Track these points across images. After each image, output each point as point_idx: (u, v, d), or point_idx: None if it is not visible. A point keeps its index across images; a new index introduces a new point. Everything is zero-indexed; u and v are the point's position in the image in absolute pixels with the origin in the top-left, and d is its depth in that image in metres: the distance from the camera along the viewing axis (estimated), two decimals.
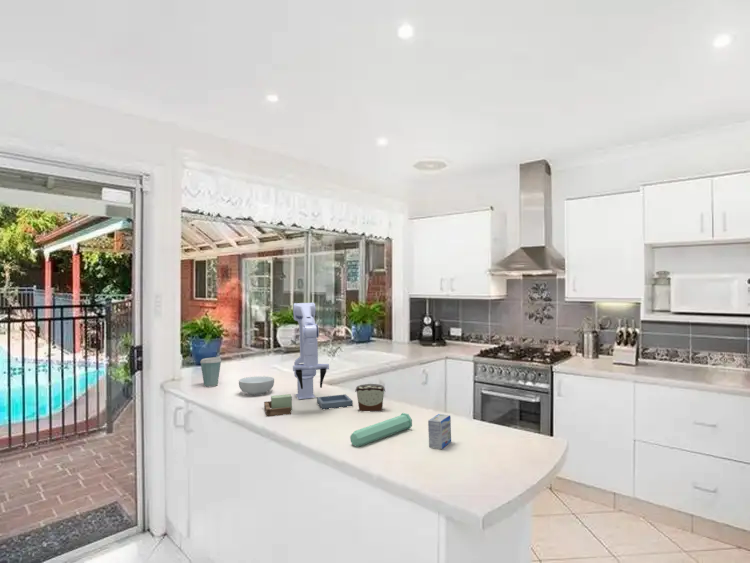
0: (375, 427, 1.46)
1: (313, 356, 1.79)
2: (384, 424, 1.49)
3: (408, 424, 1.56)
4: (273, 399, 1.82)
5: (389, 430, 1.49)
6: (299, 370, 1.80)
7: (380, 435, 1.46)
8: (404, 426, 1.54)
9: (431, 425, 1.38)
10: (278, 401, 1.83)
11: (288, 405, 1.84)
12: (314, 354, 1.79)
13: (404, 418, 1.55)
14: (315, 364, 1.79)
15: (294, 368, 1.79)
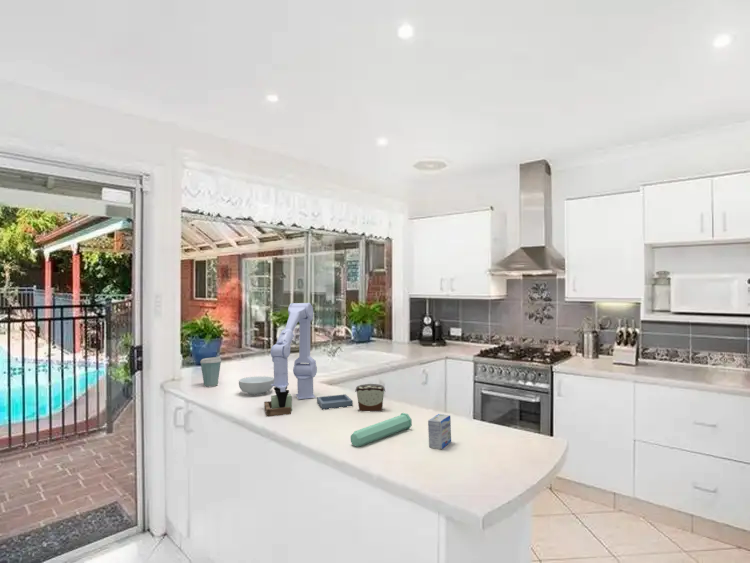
0: (375, 427, 1.46)
1: (274, 375, 1.84)
2: (384, 424, 1.49)
3: (408, 424, 1.56)
4: (273, 399, 1.82)
5: (389, 430, 1.49)
6: None
7: (380, 435, 1.46)
8: (404, 426, 1.54)
9: (431, 425, 1.38)
10: None
11: (288, 405, 1.84)
12: (280, 373, 1.83)
13: (404, 418, 1.56)
14: (276, 383, 1.83)
15: None
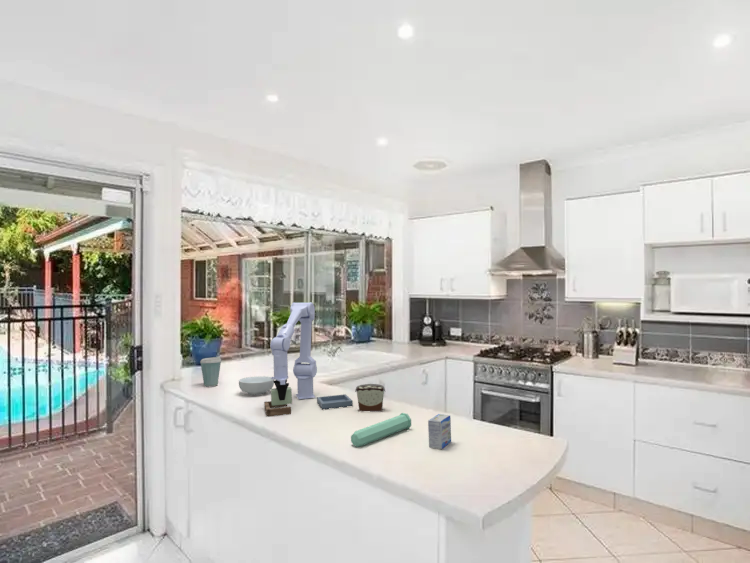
0: (375, 427, 1.46)
1: (274, 368, 1.84)
2: (384, 424, 1.49)
3: (407, 424, 1.56)
4: (273, 392, 1.82)
5: (389, 430, 1.49)
6: None
7: (380, 435, 1.46)
8: (403, 426, 1.54)
9: (431, 425, 1.38)
10: None
11: (288, 398, 1.84)
12: (280, 366, 1.83)
13: (403, 418, 1.56)
14: (276, 376, 1.83)
15: None
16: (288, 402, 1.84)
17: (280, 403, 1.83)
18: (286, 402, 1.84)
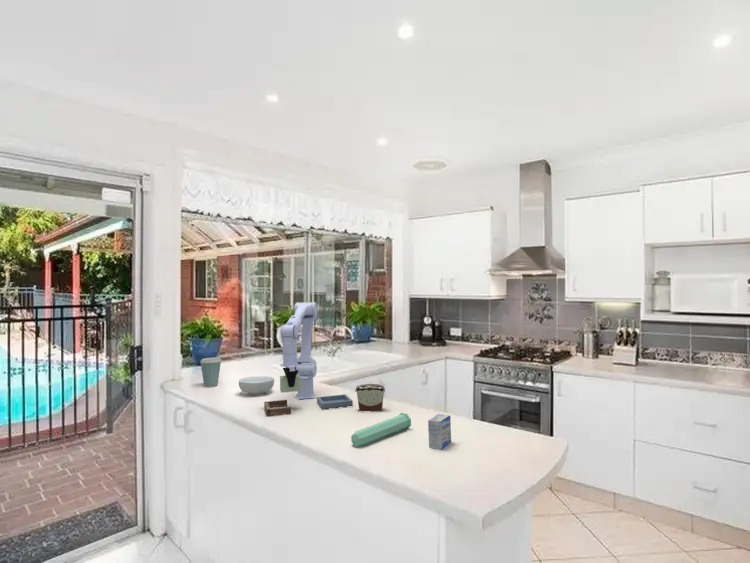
0: (375, 427, 1.46)
1: (283, 355, 1.85)
2: (384, 424, 1.49)
3: (407, 424, 1.56)
4: (282, 379, 1.83)
5: (389, 430, 1.49)
6: None
7: (380, 435, 1.46)
8: (403, 426, 1.55)
9: (431, 425, 1.38)
10: (287, 381, 1.84)
11: (297, 385, 1.85)
12: (290, 353, 1.84)
13: (403, 418, 1.56)
14: (285, 363, 1.84)
15: None
16: (297, 389, 1.85)
17: (289, 390, 1.84)
18: (295, 389, 1.85)
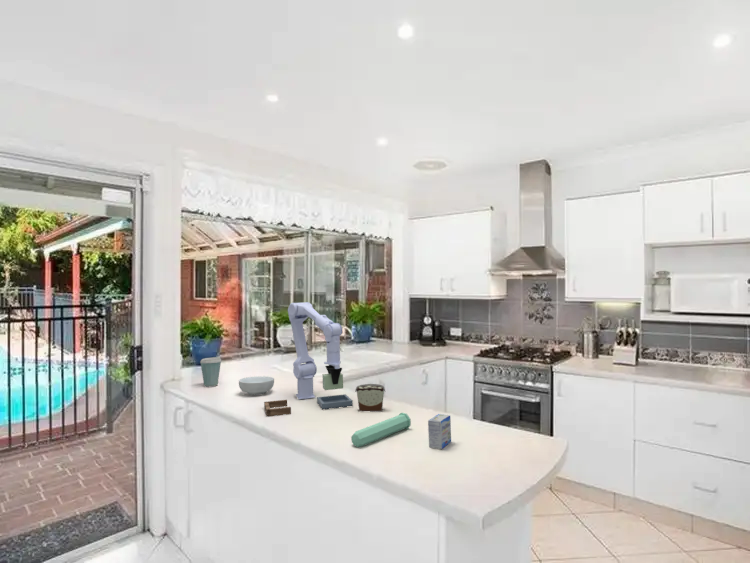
0: (375, 427, 1.46)
1: (327, 353, 1.91)
2: (384, 424, 1.49)
3: (407, 424, 1.56)
4: (325, 377, 1.89)
5: (389, 430, 1.49)
6: None
7: (380, 435, 1.46)
8: (403, 426, 1.55)
9: (431, 425, 1.38)
10: (330, 379, 1.89)
11: (339, 383, 1.91)
12: (339, 351, 1.92)
13: (403, 418, 1.56)
14: (329, 361, 1.90)
15: None
16: (340, 387, 1.91)
17: (332, 388, 1.90)
18: (338, 387, 1.90)
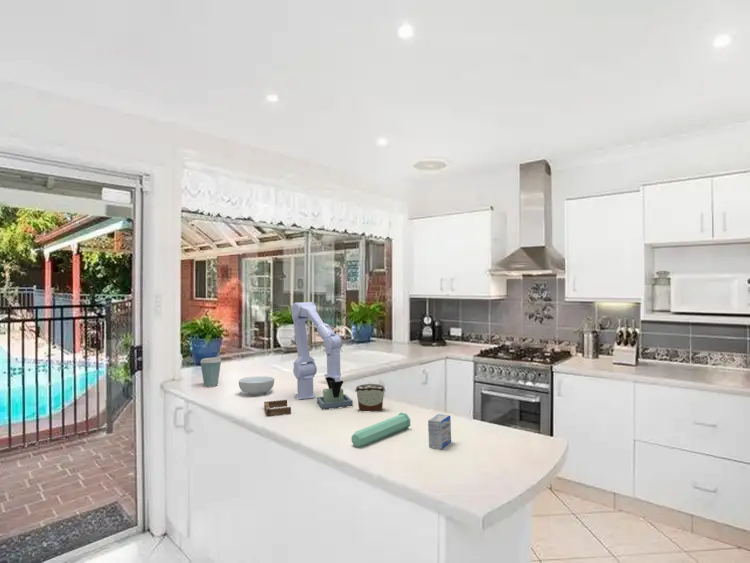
0: (375, 427, 1.46)
1: (328, 365, 1.91)
2: (384, 424, 1.49)
3: (406, 424, 1.56)
4: (326, 392, 1.89)
5: (389, 430, 1.49)
6: None
7: (380, 435, 1.46)
8: (403, 426, 1.55)
9: (431, 425, 1.38)
10: (330, 394, 1.89)
11: (340, 398, 1.91)
12: (339, 363, 1.91)
13: (403, 418, 1.56)
14: (329, 373, 1.90)
15: None
16: None
17: None
18: None
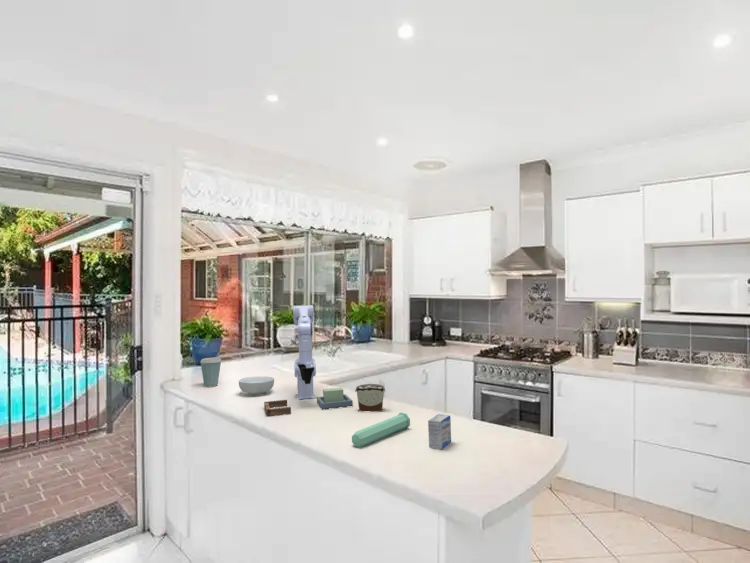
0: (376, 427, 1.46)
1: (299, 352, 1.91)
2: (384, 424, 1.49)
3: (406, 423, 1.56)
4: (326, 392, 1.89)
5: (389, 430, 1.49)
6: None
7: (381, 435, 1.46)
8: (403, 425, 1.55)
9: (431, 425, 1.38)
10: (330, 394, 1.89)
11: (340, 398, 1.91)
12: (308, 350, 1.91)
13: (402, 418, 1.56)
14: (301, 360, 1.91)
15: None
16: None
17: None
18: None
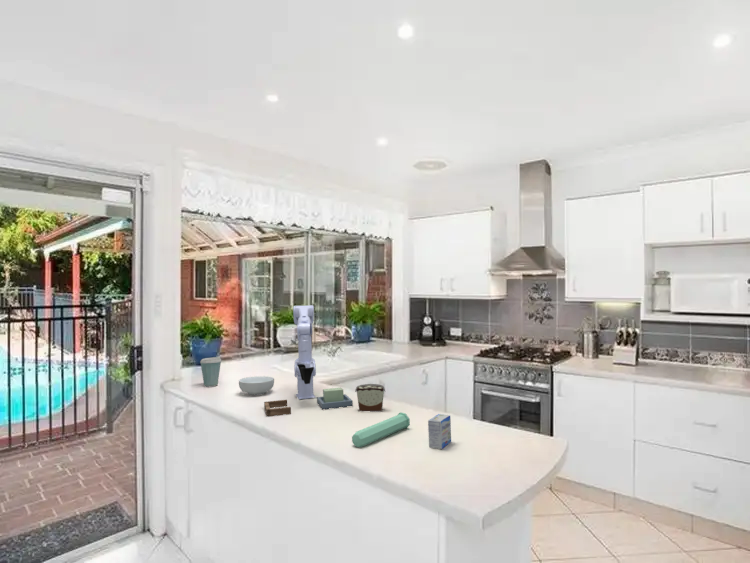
0: (376, 427, 1.46)
1: (299, 352, 1.91)
2: (384, 424, 1.49)
3: (406, 423, 1.56)
4: (326, 392, 1.89)
5: (389, 430, 1.49)
6: None
7: (381, 435, 1.46)
8: (402, 425, 1.55)
9: (431, 425, 1.38)
10: (330, 394, 1.89)
11: (340, 398, 1.91)
12: (308, 350, 1.91)
13: (402, 417, 1.56)
14: (300, 360, 1.91)
15: None
16: None
17: None
18: None
